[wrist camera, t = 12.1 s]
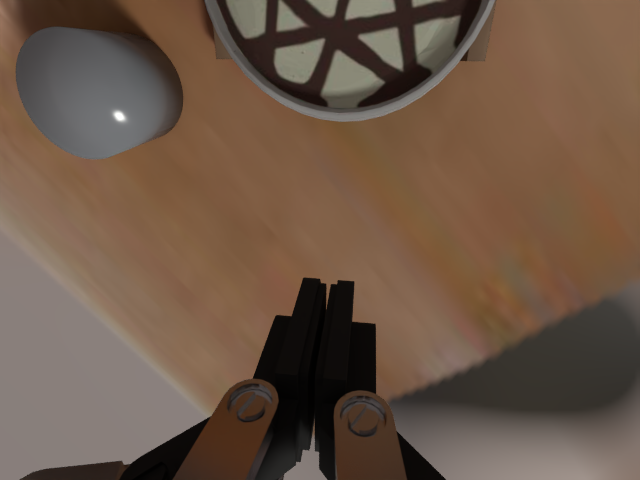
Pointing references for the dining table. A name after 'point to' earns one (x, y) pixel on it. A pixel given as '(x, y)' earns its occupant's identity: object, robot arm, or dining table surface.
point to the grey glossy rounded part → (97, 89)
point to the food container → (347, 49)
